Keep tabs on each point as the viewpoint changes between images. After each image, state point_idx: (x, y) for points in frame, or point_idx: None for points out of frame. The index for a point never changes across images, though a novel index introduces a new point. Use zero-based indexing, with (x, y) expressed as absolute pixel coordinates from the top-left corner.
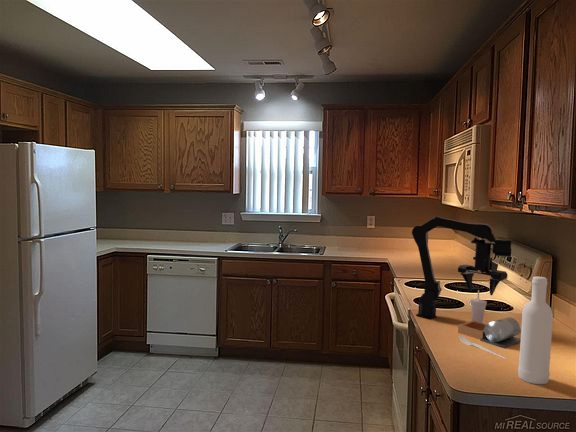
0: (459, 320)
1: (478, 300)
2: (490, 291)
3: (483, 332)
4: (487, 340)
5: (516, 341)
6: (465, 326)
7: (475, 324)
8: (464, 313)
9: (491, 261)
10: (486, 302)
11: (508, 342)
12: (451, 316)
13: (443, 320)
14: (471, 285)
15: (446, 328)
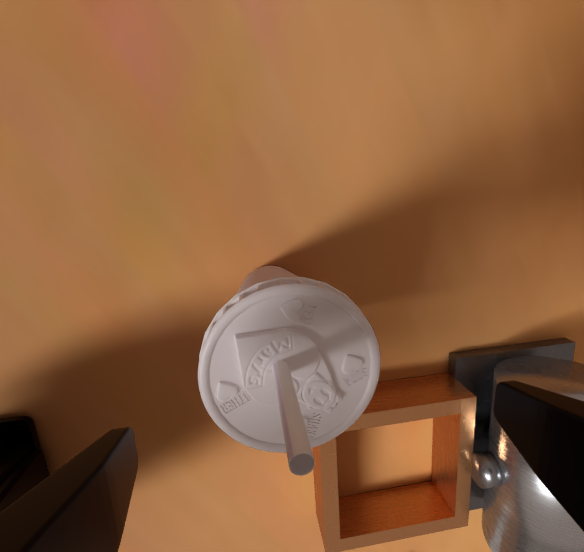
0: (158, 334)
1: (292, 376)
2: (558, 483)
3: (465, 517)
4: (479, 506)
5: None
6: (366, 541)
7: None
8: (17, 125)
9: None
10: (377, 343)
11: None
12: (53, 305)
13: (113, 428)
14: (89, 516)
15: (241, 518)
